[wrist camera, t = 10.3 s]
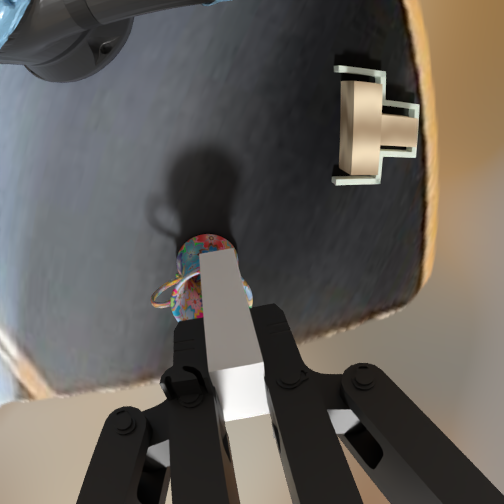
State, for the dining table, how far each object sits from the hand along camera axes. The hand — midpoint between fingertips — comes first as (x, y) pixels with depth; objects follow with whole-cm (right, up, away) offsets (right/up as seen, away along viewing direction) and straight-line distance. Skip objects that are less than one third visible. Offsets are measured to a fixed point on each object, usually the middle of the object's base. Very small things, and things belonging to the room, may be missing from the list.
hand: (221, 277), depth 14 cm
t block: (+18, +18, +25) cm, 36 cm away
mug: (-6, 0, +31) cm, 31 cm away
